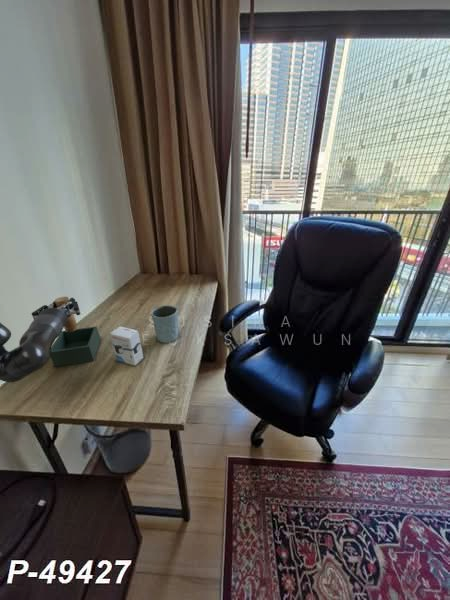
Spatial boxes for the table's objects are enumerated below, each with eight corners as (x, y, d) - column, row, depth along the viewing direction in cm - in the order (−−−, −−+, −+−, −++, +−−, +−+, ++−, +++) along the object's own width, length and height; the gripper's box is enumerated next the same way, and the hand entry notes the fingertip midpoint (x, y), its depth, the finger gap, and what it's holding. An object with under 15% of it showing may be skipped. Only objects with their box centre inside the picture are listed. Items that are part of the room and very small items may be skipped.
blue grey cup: (157, 346, 97) (152, 319, 92) (153, 332, 106) (149, 307, 100) (182, 340, 101) (179, 314, 95) (177, 327, 109) (174, 303, 104)
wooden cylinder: (63, 332, 88) (52, 302, 82) (67, 327, 91) (56, 297, 86) (76, 331, 89) (66, 300, 83) (79, 325, 92) (69, 295, 87)
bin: (54, 367, 87) (48, 352, 84) (66, 344, 99) (61, 331, 96) (93, 360, 90) (89, 346, 87) (100, 339, 102) (96, 326, 99)
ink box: (115, 360, 90) (108, 333, 85) (125, 352, 94) (119, 325, 89) (135, 366, 87) (128, 338, 82) (144, 357, 91) (138, 330, 86)
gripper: (71, 311, 73) (84, 288, 88) (14, 318, 70) (39, 293, 85) (78, 332, 76) (90, 307, 91) (24, 340, 73) (46, 312, 88)
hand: (65, 300), depth 88 cm, fingers closed on wooden cylinder, 4 cm apart
